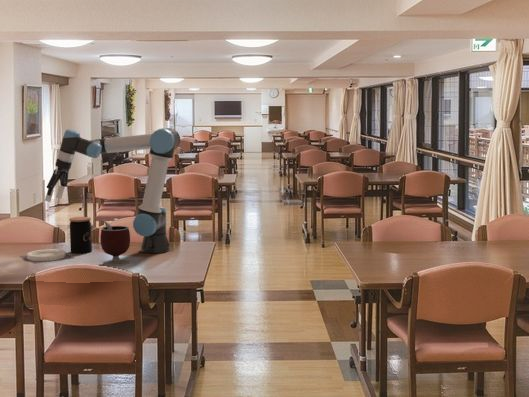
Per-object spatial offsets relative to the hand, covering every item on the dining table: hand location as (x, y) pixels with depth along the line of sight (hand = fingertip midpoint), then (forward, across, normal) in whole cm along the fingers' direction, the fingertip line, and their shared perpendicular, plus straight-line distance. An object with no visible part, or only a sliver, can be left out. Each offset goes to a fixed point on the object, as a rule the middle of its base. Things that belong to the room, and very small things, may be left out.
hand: (53, 199), depth 372 cm
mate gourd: (+14, +18, +45) cm, 50 cm away
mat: (+26, +11, +9) cm, 30 cm away
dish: (+26, +11, +9) cm, 30 cm away
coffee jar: (+22, -3, +21) cm, 31 cm away
